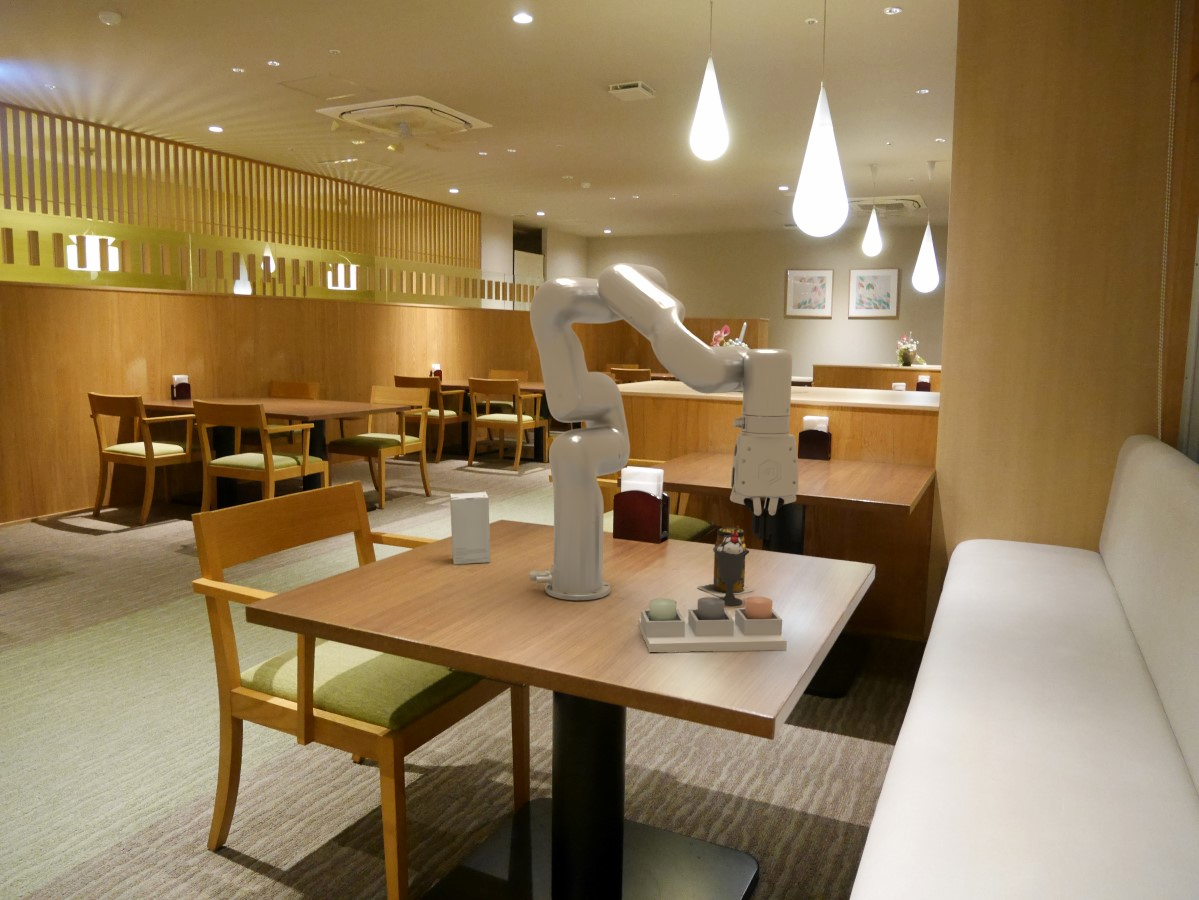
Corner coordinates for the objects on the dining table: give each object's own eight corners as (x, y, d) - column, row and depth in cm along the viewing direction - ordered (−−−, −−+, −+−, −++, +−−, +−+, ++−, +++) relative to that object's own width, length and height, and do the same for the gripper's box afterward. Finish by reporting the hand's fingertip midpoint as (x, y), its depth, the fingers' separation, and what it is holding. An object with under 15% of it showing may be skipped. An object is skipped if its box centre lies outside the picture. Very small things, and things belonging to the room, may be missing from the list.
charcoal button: (700, 623, 139) (700, 605, 139) (694, 614, 143) (695, 597, 143) (726, 623, 139) (727, 605, 139) (720, 614, 144) (721, 596, 143)
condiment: (753, 591, 169) (755, 531, 167) (720, 598, 164) (722, 536, 162) (728, 582, 175) (730, 524, 173) (696, 588, 170) (698, 529, 168)
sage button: (651, 624, 138) (651, 606, 138) (647, 615, 143) (647, 598, 142) (678, 623, 139) (678, 605, 138) (673, 615, 143) (673, 597, 143)
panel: (648, 652, 135) (649, 628, 134) (638, 627, 147) (638, 604, 146) (786, 649, 137) (787, 625, 136) (765, 624, 149) (766, 602, 148)
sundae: (739, 609, 157) (742, 529, 155) (705, 603, 160) (708, 524, 158) (753, 600, 162) (756, 522, 160) (720, 594, 166) (722, 518, 164)
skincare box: (488, 556, 192) (488, 491, 190) (490, 563, 186) (490, 496, 184) (450, 558, 190) (449, 492, 188) (451, 565, 184) (451, 497, 182)
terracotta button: (748, 622, 140) (749, 604, 139) (741, 613, 144) (742, 596, 144) (775, 622, 140) (775, 604, 140) (767, 613, 144) (768, 596, 144)
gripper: (725, 428, 133) (722, 543, 136) (819, 428, 135) (814, 542, 137) (714, 423, 141) (711, 533, 143) (803, 423, 142) (799, 532, 145)
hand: (761, 537), depth 140 cm, fingers closed
